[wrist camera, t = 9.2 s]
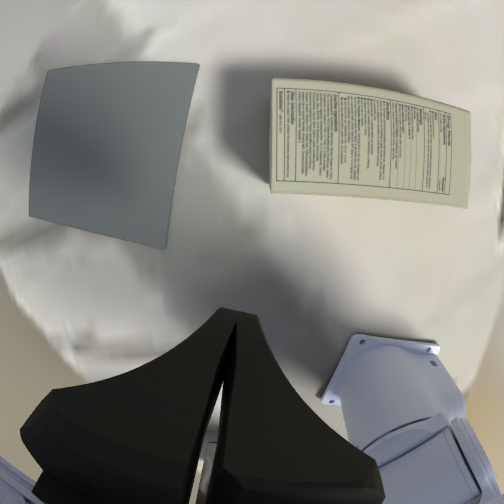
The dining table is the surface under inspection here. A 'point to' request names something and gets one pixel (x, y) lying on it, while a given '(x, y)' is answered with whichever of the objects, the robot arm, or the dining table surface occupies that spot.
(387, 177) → the skincare box
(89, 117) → the mat
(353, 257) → the dining table surface
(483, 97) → the dining table surface
